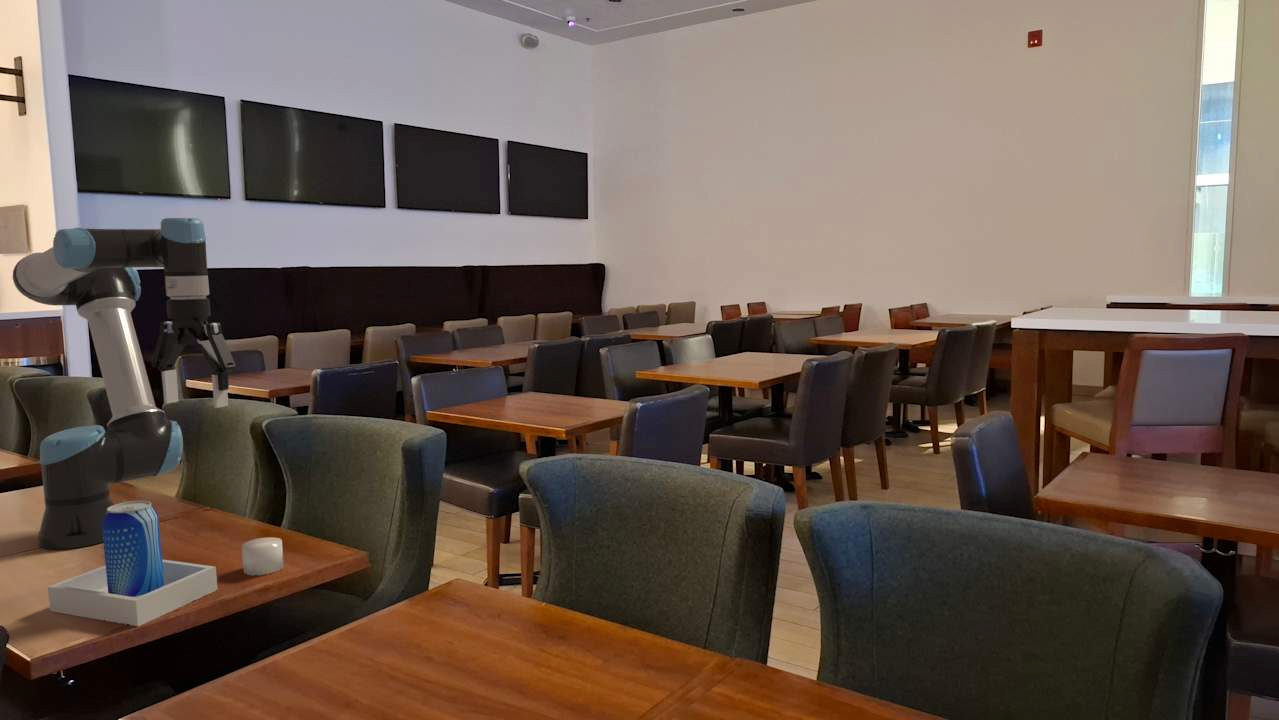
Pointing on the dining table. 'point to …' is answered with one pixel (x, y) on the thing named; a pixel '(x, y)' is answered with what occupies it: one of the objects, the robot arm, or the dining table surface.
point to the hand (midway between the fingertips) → (196, 404)
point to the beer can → (132, 549)
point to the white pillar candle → (262, 556)
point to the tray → (95, 602)
